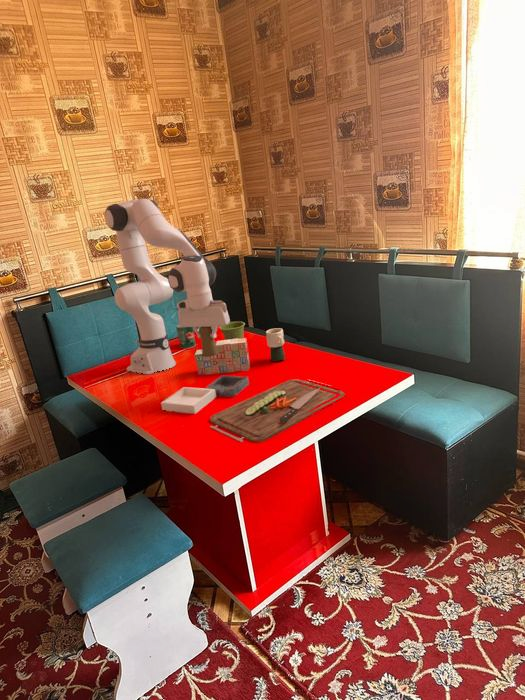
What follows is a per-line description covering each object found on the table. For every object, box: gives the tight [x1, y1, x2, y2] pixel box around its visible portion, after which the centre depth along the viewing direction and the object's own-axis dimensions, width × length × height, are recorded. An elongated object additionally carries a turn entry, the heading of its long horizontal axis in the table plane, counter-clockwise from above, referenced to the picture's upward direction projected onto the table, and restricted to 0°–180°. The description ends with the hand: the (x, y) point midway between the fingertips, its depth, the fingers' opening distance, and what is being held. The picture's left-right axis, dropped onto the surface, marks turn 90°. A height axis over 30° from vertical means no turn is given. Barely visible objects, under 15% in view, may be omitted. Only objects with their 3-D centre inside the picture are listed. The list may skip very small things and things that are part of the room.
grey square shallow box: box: [205, 375, 250, 398], centre depth 190 cm, size 12×12×3 cm
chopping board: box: [209, 378, 345, 443], centre depth 169 cm, size 45×27×3 cm, turn 131°
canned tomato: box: [175, 323, 197, 350], centre depth 250 cm, size 8×8×11 cm
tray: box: [160, 386, 217, 415], centre depth 182 cm, size 14×14×3 cm
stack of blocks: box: [194, 337, 251, 376], centre depth 209 cm, size 21×6×12 cm, turn 88°
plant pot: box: [219, 321, 246, 340], centre depth 236 cm, size 12×12×11 cm
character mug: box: [265, 327, 286, 362], centre depth 212 cm, size 11×7×13 cm, turn 27°
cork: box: [199, 327, 218, 357], centre depth 187 cm, size 6×6×11 cm
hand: (207, 337), depth 187 cm, fingers closed on cork, 4 cm apart
